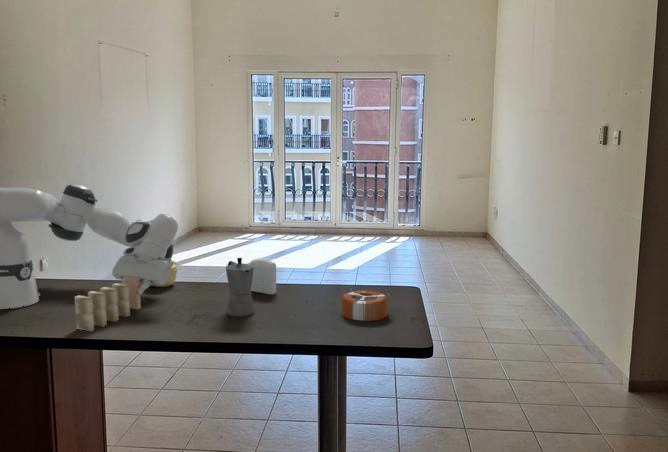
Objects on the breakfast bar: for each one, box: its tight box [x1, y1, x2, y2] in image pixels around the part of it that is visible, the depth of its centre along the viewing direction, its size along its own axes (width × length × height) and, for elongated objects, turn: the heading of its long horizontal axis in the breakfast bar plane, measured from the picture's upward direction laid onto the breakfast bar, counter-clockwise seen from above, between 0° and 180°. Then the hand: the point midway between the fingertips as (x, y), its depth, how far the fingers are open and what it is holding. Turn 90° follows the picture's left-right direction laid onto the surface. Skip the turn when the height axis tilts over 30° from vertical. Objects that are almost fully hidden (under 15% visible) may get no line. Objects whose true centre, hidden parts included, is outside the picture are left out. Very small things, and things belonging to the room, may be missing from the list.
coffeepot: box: [225, 257, 255, 317], centre depth 186 cm, size 15×9×18 cm, turn 33°
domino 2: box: [87, 290, 108, 327], centre depth 173 cm, size 5×2×10 cm, turn 68°
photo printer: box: [249, 258, 277, 295], centre depth 209 cm, size 10×4×12 cm, turn 60°
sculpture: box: [149, 259, 178, 288], centre depth 217 cm, size 12×12×11 cm
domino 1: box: [74, 294, 95, 332], centre depth 168 cm, size 5×2×10 cm, turn 68°
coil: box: [341, 288, 390, 322], centre depth 184 cm, size 7×15×15 cm
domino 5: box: [124, 276, 142, 310], centre depth 186 cm, size 5×2×10 cm, turn 68°
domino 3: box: [99, 286, 120, 323], centre depth 177 cm, size 5×2×10 cm, turn 68°
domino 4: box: [111, 282, 131, 318], centre depth 182 cm, size 5×2×10 cm, turn 68°
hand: (130, 292), depth 186 cm, fingers closed on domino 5, 5 cm apart
